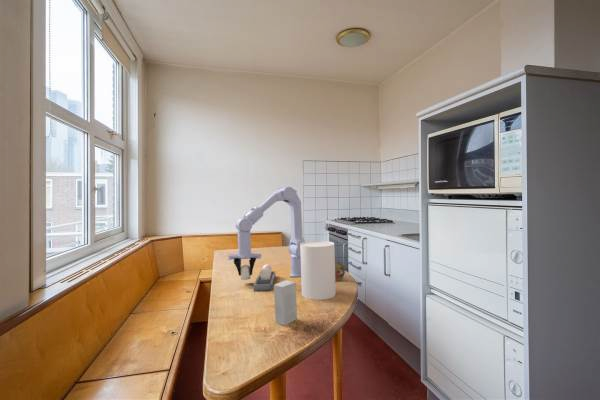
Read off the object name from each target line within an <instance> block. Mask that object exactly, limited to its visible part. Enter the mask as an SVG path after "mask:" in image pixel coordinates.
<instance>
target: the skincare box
mask: <svg viewBox="0 0 600 400" xmlns="http://www.w3.org/2000/svg"><path fill="white" fill-rule="evenodd" d="M296 287H297V284H296V281H291V280H289V279H288V280H287V279H286V280H283V281H281V282H278V283H276V284H273V297H274V300H273V301H274V320H275V321H274V322H275V324H279V325H281V326H287V325H289V324H291V323H292V322H294V321H296V320H297V319H298V312H297V311H298V308H297V288H296Z"/></svg>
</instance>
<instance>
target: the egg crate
mask: <svg viewBox="0 0 600 400" xmlns="http://www.w3.org/2000/svg"><path fill="white" fill-rule="evenodd" d="M272 270H273V269H272V266H271V265H270V264H267V263H266V264H264V265H263V266H262V269H261V270H260V271H259V273H258V274H257V278H256V279H255V282H254V283H253V291H254V292H264V291H268V292H269V291H273V288H274V283H275V279H276V271H274V270H273V271H272Z"/></svg>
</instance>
